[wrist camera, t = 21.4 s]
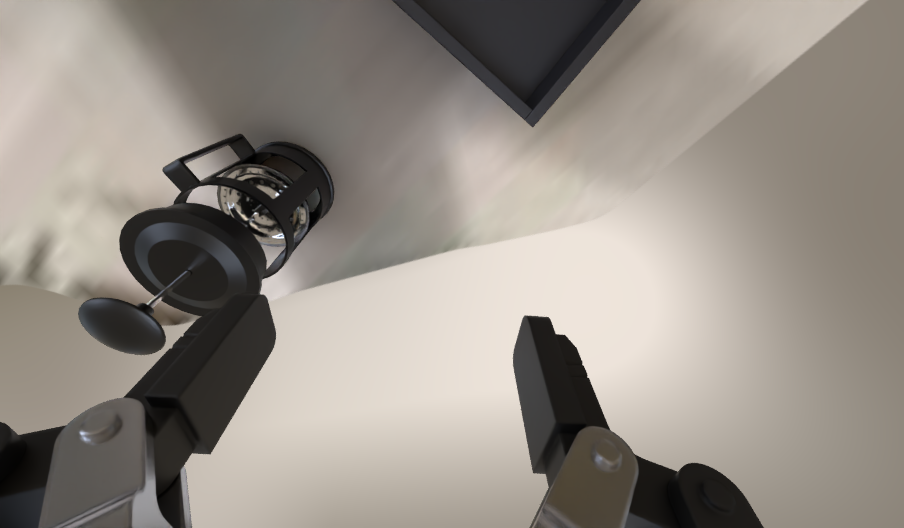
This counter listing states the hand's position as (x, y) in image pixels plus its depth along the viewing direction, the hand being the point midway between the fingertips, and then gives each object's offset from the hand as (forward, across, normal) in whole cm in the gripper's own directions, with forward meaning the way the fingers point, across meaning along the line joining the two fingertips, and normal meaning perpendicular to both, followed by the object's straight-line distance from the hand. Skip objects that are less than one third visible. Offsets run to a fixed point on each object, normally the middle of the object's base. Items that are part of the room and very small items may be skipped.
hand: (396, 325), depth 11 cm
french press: (+28, +16, +7) cm, 33 cm away
